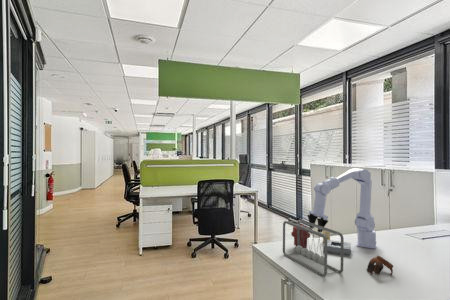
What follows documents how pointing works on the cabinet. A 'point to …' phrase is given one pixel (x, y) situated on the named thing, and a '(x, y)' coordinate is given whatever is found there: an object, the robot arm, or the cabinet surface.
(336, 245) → the block
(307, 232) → the mechanical component
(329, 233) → the bushing
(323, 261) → the newton's cradle
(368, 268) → the brown sunglasses
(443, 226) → the cabinet surface
